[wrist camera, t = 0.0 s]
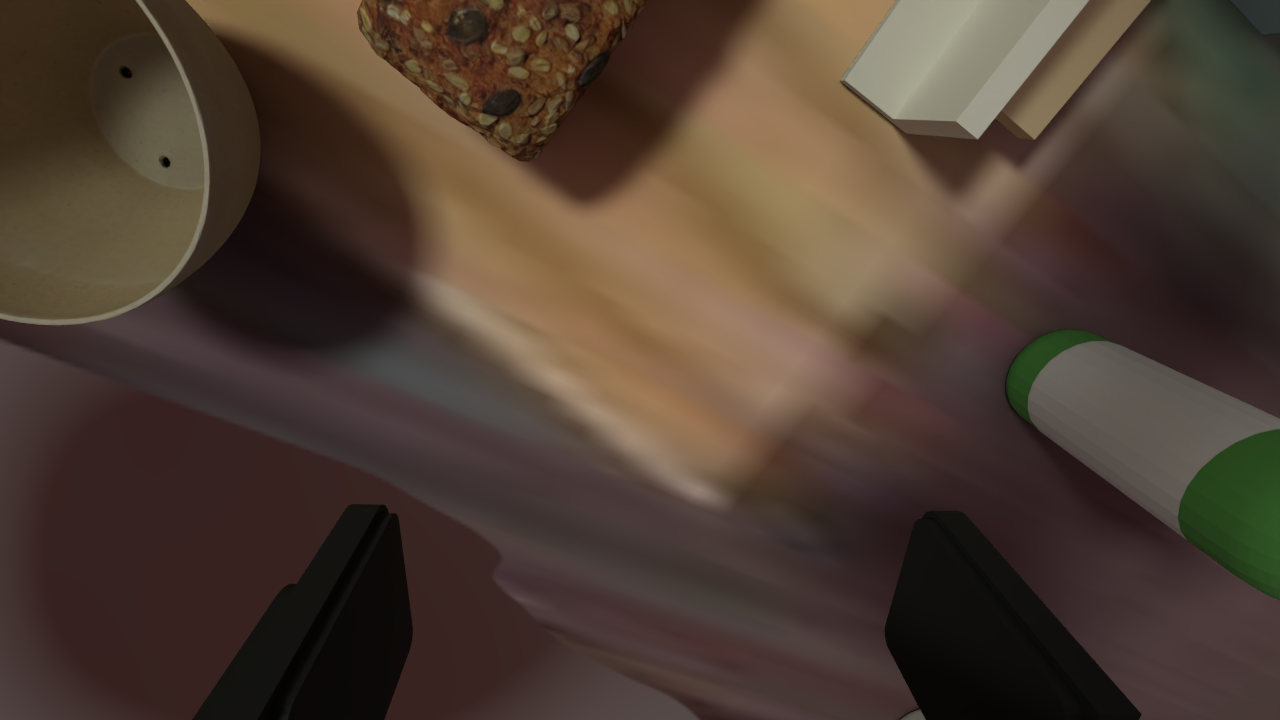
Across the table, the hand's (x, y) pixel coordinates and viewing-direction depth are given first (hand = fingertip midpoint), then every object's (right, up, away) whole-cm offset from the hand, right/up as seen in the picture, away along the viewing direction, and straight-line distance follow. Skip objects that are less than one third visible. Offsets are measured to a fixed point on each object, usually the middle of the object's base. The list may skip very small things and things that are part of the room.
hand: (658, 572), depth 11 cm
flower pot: (-28, +19, +25) cm, 42 cm away
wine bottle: (+31, +3, +35) cm, 46 cm away
